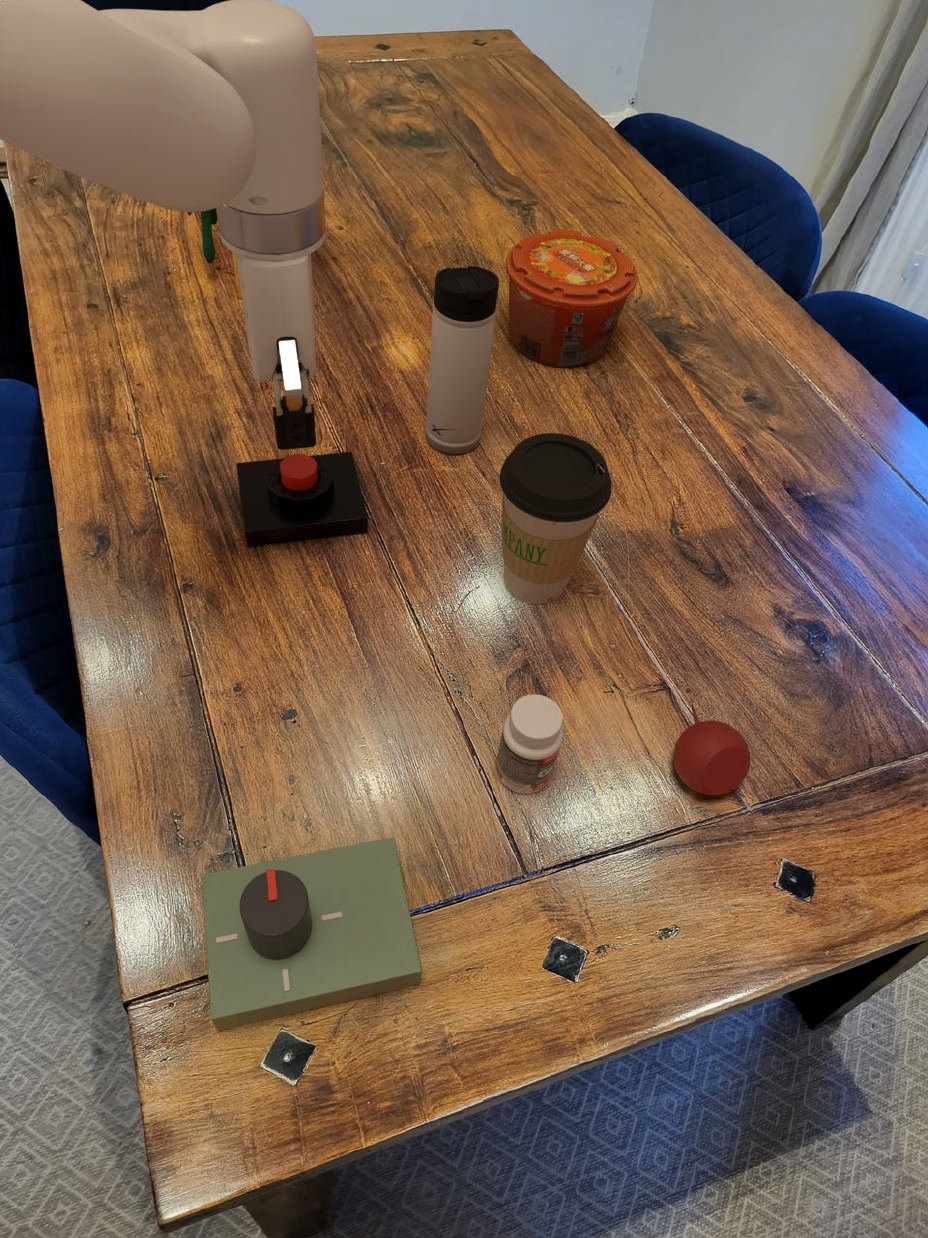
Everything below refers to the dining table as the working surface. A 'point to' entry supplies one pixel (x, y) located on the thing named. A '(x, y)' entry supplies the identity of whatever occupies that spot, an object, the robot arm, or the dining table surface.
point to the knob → (276, 914)
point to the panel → (313, 936)
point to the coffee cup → (549, 512)
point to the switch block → (301, 502)
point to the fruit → (711, 756)
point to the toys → (208, 244)
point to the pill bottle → (529, 744)
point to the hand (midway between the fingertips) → (290, 408)
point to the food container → (566, 295)
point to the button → (299, 472)
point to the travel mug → (460, 357)
